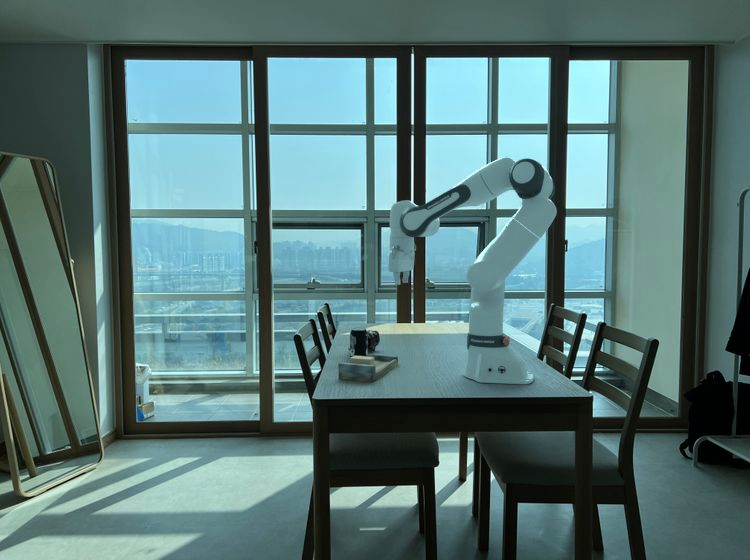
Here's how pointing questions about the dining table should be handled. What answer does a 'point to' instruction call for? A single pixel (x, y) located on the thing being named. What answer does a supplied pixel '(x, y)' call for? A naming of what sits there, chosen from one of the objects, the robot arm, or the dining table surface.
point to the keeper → (362, 360)
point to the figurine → (372, 340)
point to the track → (368, 368)
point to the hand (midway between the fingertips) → (401, 283)
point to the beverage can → (358, 342)
